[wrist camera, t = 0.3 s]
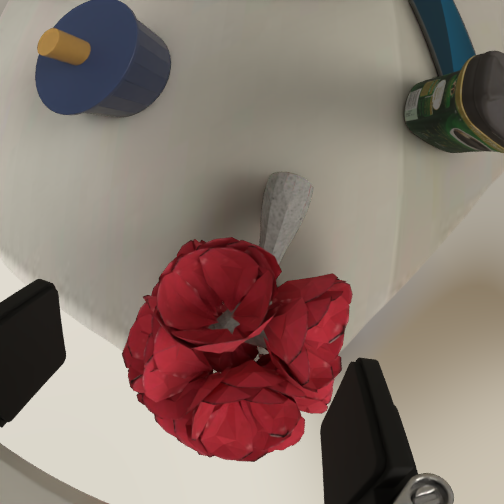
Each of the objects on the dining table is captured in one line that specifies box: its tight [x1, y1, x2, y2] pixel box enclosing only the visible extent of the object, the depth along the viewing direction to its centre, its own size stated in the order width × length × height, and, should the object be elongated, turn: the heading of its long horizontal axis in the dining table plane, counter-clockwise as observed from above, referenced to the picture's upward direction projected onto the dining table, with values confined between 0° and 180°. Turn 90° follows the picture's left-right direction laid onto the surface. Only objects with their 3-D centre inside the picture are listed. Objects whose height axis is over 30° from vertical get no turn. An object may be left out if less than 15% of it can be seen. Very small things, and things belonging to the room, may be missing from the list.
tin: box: [85, 20, 171, 117], centre depth 29 cm, size 13×13×10 cm
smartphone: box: [409, 0, 476, 77], centre depth 28 cm, size 8×15×1 cm, turn 16°
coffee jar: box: [404, 51, 504, 153], centre depth 23 cm, size 10×8×19 cm
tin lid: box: [35, 0, 140, 115], centre depth 22 cm, size 14×14×7 cm
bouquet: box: [122, 172, 353, 462], centre depth 31 cm, size 22×24×30 cm
